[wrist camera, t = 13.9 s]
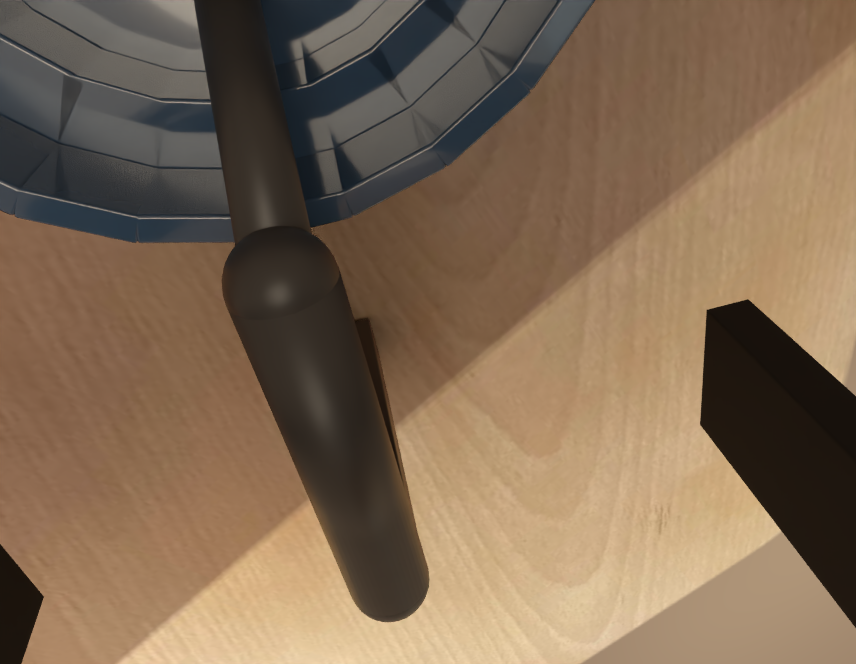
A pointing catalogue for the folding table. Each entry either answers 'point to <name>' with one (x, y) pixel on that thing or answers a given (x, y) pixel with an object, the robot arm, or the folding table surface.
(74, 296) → the folding table surface
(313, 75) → the bowl
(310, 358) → the ladle
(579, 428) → the folding table surface
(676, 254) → the folding table surface
